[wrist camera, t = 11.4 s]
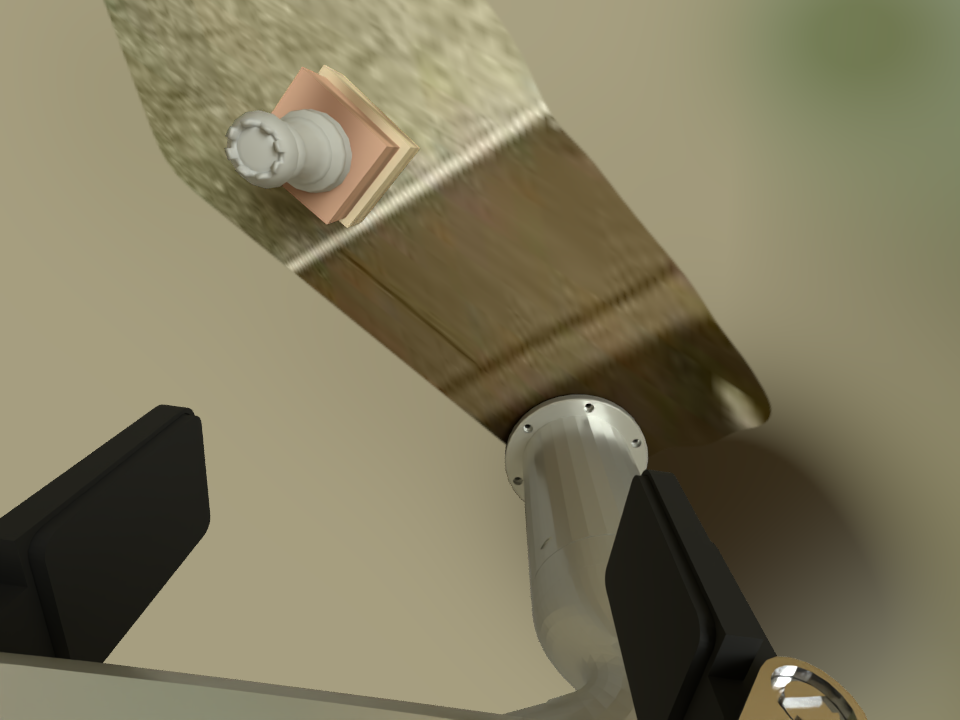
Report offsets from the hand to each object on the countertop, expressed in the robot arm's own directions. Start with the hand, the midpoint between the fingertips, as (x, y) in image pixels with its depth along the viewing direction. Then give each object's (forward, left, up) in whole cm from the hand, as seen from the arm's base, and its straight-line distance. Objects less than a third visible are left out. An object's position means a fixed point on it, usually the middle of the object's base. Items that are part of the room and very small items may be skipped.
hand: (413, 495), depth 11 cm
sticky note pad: (+6, +10, -30) cm, 32 cm away
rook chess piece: (+6, +10, -22) cm, 25 cm away
